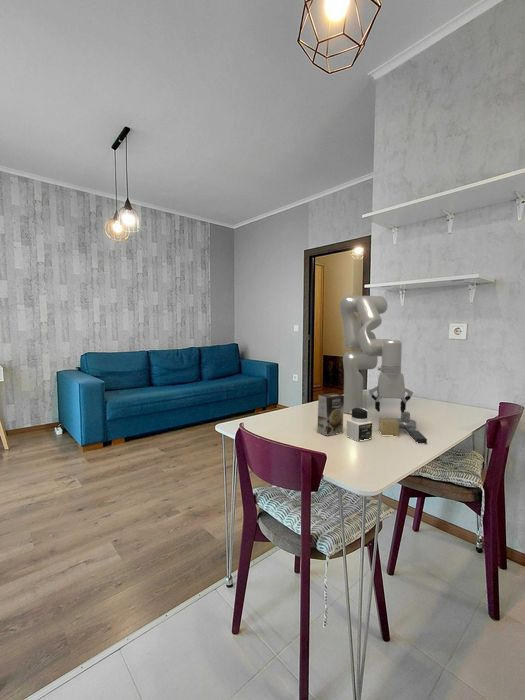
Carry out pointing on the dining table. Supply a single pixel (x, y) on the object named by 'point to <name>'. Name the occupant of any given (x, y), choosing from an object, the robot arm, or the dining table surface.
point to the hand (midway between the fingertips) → (390, 411)
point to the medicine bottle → (359, 425)
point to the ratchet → (410, 427)
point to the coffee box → (330, 413)
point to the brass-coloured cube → (389, 426)
